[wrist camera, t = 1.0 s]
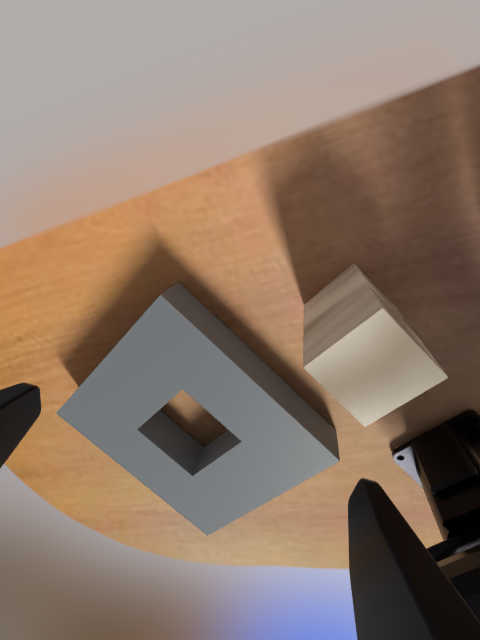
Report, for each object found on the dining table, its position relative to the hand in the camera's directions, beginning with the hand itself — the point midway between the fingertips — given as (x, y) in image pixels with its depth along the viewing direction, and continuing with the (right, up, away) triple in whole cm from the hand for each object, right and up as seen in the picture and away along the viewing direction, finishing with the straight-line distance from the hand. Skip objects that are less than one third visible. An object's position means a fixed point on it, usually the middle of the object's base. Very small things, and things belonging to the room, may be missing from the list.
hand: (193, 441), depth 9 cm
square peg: (+8, +4, +12) cm, 15 cm away
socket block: (-2, -4, +17) cm, 18 cm away
